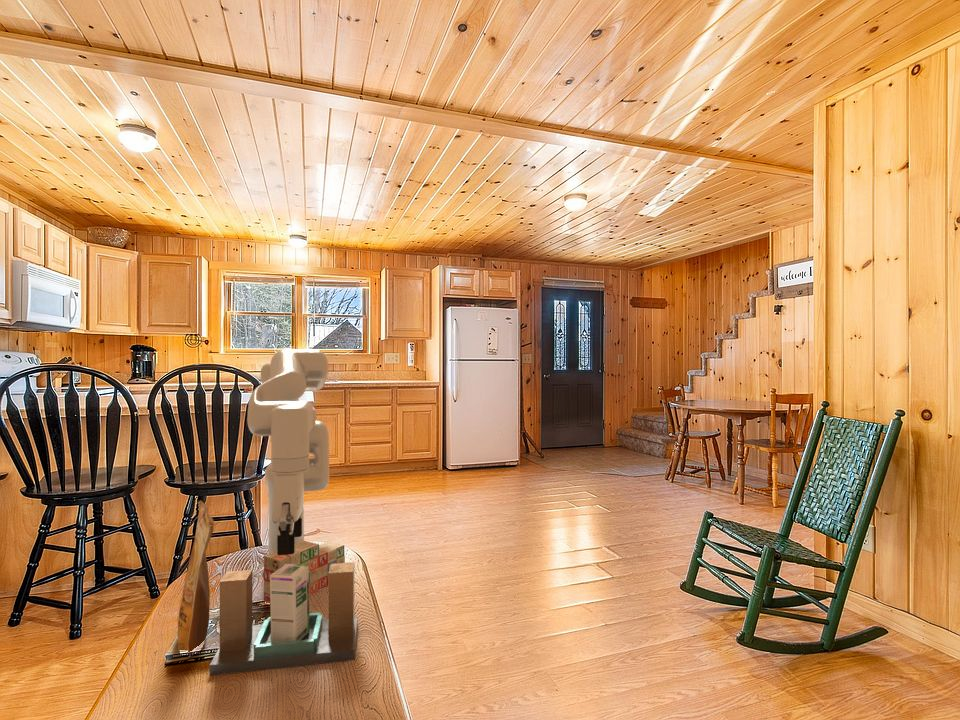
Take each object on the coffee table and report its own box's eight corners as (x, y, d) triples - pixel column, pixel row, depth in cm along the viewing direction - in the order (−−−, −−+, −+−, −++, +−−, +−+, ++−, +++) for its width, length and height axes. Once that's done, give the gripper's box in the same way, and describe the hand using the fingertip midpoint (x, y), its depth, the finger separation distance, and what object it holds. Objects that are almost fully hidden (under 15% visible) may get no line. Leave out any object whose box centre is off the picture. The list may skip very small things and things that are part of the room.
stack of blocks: (329, 573, 144) (329, 530, 144) (345, 578, 141) (345, 533, 141) (263, 604, 126) (263, 554, 126) (279, 610, 123) (279, 559, 123)
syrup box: (295, 646, 103) (295, 575, 104) (269, 643, 105) (269, 573, 105) (309, 632, 109) (310, 564, 109) (284, 629, 110) (284, 562, 110)
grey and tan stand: (230, 636, 111) (230, 563, 111) (357, 624, 116) (357, 554, 116) (209, 675, 97) (209, 592, 97) (354, 659, 102) (354, 580, 102)
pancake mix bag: (214, 614, 120) (214, 496, 120) (213, 656, 103) (213, 519, 103) (181, 621, 117) (181, 500, 117) (174, 665, 100) (175, 524, 100)
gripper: (279, 456, 115) (279, 531, 115) (261, 474, 98) (261, 563, 98) (314, 455, 116) (314, 529, 116) (302, 473, 99) (302, 560, 99)
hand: (290, 545), depth 107 cm, fingers open, 9 cm apart
